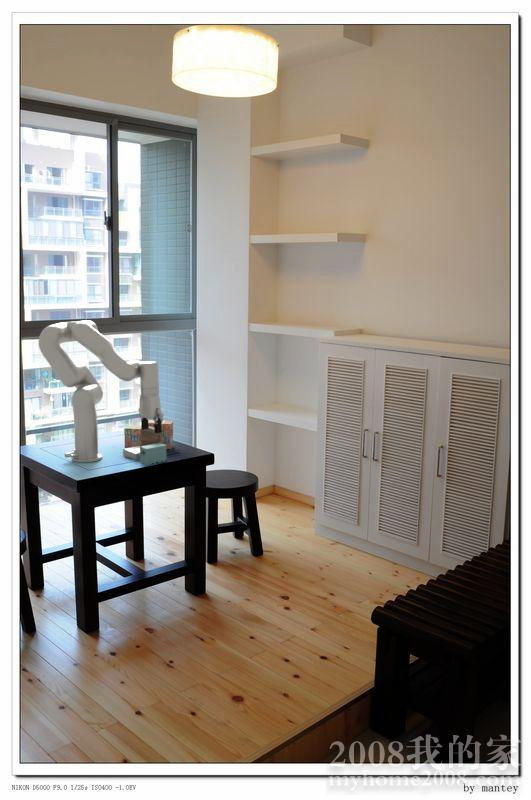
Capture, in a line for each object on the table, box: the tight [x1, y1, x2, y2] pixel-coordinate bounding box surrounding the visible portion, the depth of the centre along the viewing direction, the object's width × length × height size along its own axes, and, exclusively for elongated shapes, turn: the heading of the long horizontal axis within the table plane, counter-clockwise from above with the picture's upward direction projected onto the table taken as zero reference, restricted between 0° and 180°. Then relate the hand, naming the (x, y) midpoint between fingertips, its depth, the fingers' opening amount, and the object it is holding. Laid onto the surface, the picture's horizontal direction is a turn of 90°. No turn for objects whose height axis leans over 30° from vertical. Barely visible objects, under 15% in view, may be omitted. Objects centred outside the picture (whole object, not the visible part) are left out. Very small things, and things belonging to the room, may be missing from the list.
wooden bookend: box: [122, 425, 160, 461], centre depth 327 cm, size 12×12×12 cm
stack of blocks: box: [123, 419, 174, 450], centre depth 341 cm, size 21×6×12 cm, turn 85°
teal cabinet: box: [139, 443, 167, 465], centre depth 318 cm, size 11×5×7 cm, turn 132°
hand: (151, 430), depth 315 cm, fingers open, 9 cm apart
